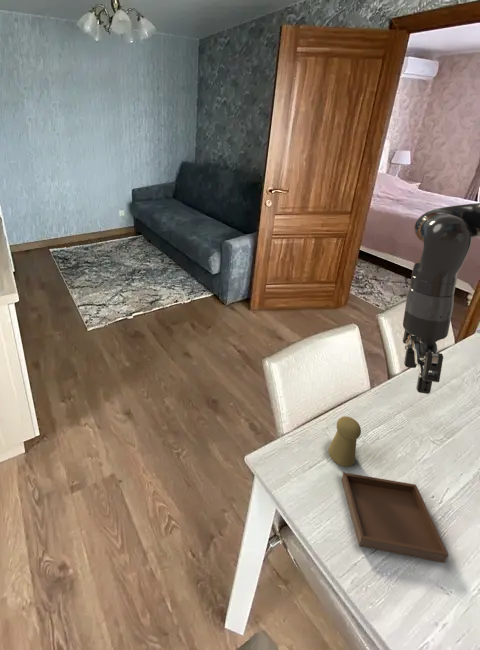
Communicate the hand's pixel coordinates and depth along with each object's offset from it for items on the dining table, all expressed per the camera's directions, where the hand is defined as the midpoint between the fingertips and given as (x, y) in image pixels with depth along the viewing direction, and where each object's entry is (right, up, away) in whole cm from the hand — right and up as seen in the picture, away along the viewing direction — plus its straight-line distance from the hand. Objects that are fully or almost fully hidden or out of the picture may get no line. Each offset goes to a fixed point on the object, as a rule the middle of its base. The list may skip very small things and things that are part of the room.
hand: (416, 378), depth 74 cm
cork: (-10, -24, +12) cm, 28 cm away
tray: (-7, -29, -1) cm, 30 cm away
